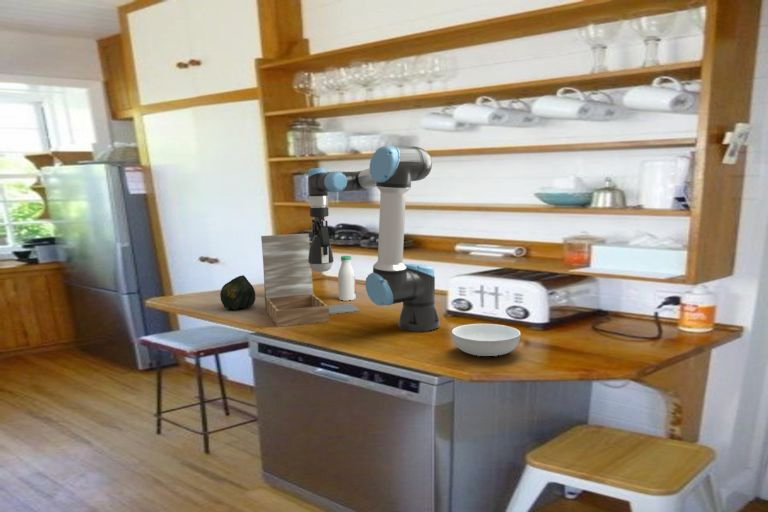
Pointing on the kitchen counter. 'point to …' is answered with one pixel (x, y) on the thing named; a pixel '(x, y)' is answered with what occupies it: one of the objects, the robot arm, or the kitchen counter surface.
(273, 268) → the box
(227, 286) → the squash
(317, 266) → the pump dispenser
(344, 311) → the slate mat
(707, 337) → the kitchen counter surface
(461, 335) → the serving bowl
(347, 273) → the milk bottle
